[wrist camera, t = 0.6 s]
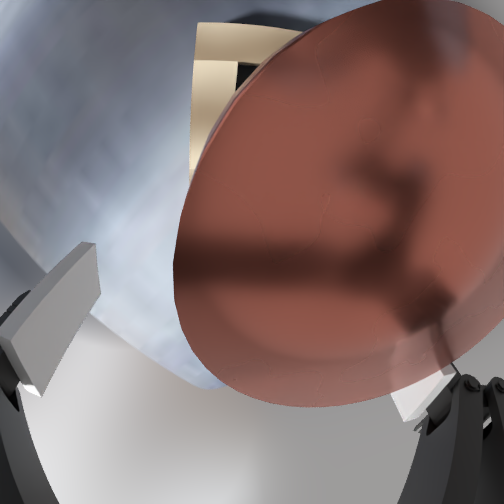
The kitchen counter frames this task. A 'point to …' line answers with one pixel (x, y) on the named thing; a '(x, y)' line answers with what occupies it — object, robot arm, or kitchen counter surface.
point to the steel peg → (351, 208)
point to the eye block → (224, 71)
